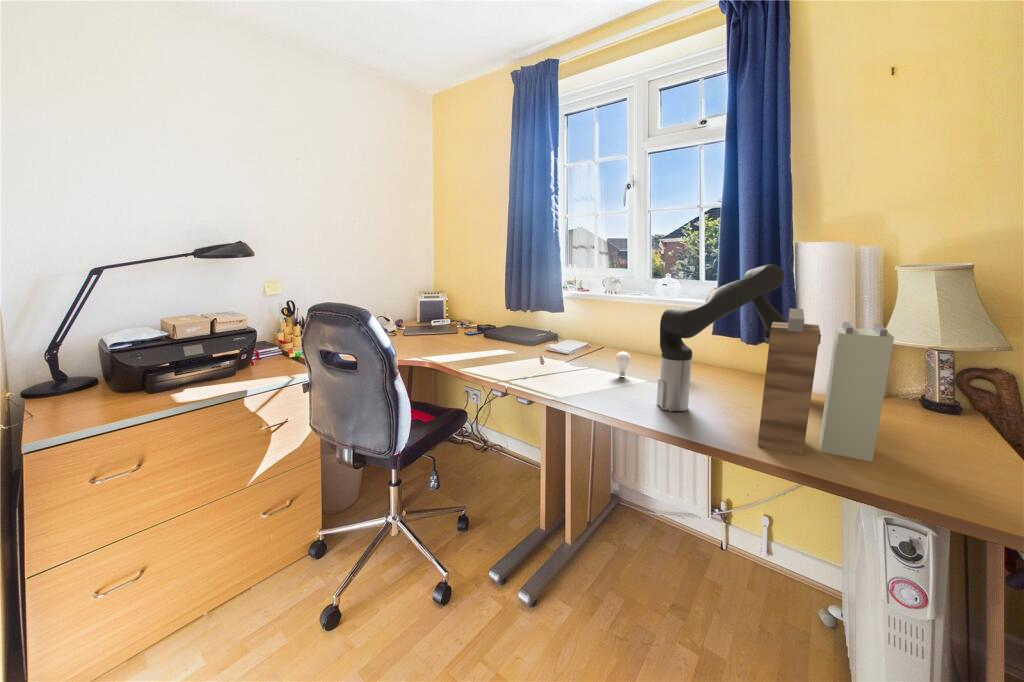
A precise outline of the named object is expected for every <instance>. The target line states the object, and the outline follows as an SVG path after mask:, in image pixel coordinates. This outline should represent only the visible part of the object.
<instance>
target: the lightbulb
mask: <svg viewBox="0 0 1024 682" xmlns="http://www.w3.org/2000/svg"><path fill="white" fill-rule="evenodd" d="M631 360H632V357H631V355H630V354H629V353H628V352H626V351H620V352H618V353H617V354H616V355H615V357H614V362H615V364H616V365H617V367H618V376H619V375H620V376H625V375H626V373H627V369H628V367H629V365H630V364H631V363H632V361H631ZM620 376H619V377H620ZM625 377H626V376H625Z"/></svg>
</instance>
